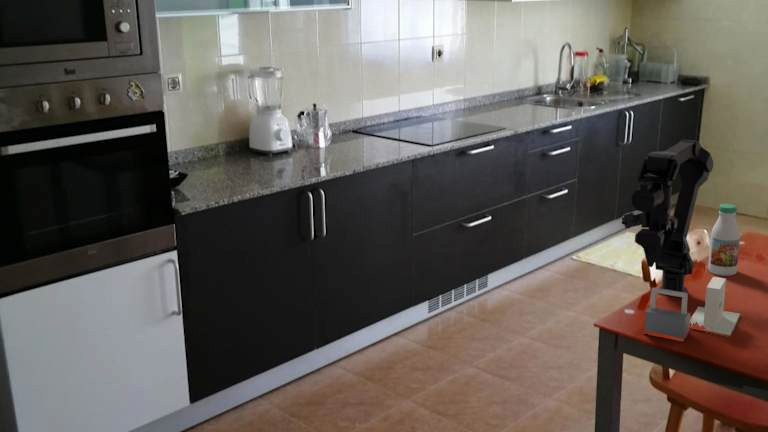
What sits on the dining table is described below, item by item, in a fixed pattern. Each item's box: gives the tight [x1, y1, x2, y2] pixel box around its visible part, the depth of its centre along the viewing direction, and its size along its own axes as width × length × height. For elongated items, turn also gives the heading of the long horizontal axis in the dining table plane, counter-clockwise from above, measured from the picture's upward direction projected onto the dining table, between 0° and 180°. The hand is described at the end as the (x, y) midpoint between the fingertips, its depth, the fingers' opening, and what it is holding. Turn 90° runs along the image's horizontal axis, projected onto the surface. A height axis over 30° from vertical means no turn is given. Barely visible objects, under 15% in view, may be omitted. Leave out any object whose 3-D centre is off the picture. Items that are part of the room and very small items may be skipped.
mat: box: [690, 306, 741, 336], centre depth 196 cm, size 14×10×1 cm
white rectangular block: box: [703, 276, 727, 327], centre depth 194 cm, size 8×3×10 cm, turn 147°
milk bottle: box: [707, 203, 741, 277], centre depth 227 cm, size 8×8×20 cm
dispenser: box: [644, 287, 691, 339], centre depth 189 cm, size 6×9×11 cm, turn 58°
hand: (654, 261), depth 202 cm, fingers open, 9 cm apart
